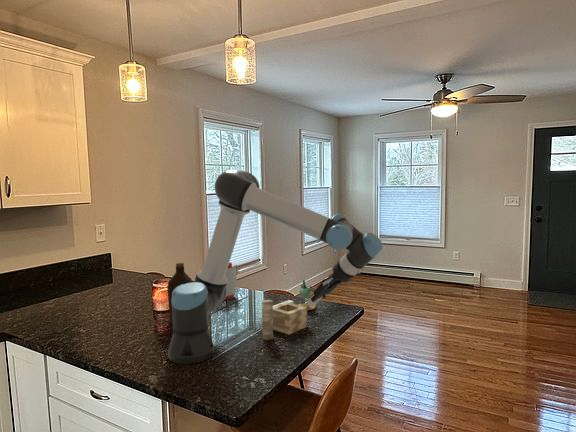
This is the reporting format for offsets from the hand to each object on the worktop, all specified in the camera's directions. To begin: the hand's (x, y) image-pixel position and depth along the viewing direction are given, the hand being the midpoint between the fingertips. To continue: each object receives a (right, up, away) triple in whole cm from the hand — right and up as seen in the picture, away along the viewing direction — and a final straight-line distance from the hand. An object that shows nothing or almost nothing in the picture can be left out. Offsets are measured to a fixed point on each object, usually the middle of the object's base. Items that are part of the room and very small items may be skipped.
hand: (309, 304), depth 148 cm
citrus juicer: (-41, -8, +50) cm, 65 cm away
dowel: (-16, -12, -3) cm, 20 cm away
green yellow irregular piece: (-1, -10, +31) cm, 32 cm away
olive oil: (-53, -11, +16) cm, 56 cm away
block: (-8, -11, +8) cm, 16 cm away
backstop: (-12, -11, +15) cm, 22 cm away
